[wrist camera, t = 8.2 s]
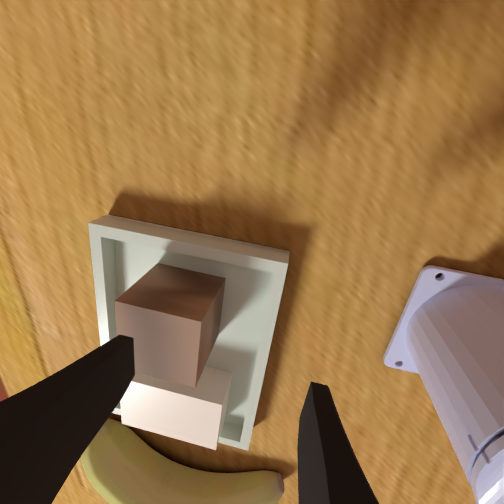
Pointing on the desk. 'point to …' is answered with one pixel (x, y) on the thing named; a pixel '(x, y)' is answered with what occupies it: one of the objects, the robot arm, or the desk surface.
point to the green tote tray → (233, 308)
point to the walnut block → (171, 321)
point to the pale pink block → (179, 407)
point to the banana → (166, 475)
